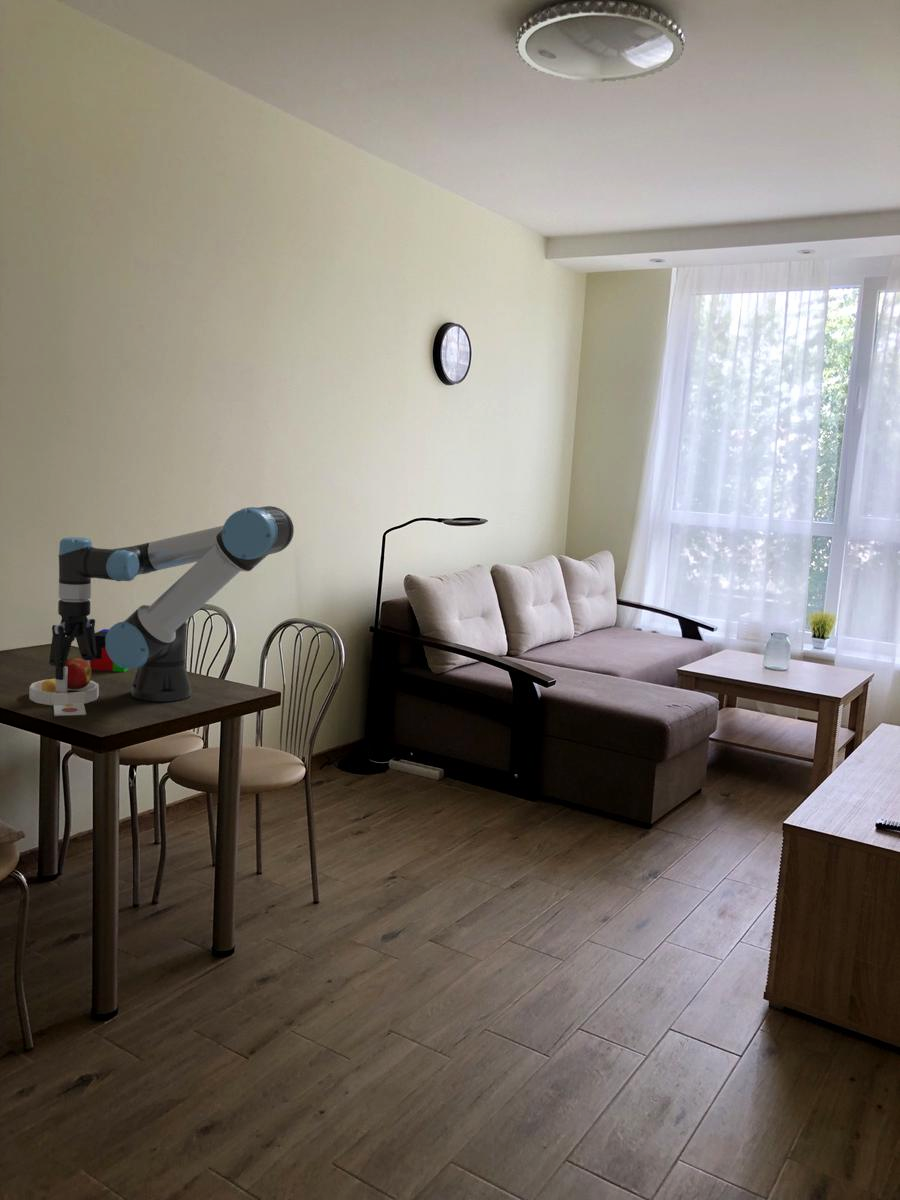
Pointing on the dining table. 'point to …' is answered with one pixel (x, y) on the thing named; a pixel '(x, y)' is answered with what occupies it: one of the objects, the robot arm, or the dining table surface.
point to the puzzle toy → (103, 655)
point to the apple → (78, 673)
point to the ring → (63, 694)
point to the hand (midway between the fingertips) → (73, 688)
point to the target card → (69, 709)
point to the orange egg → (49, 686)
